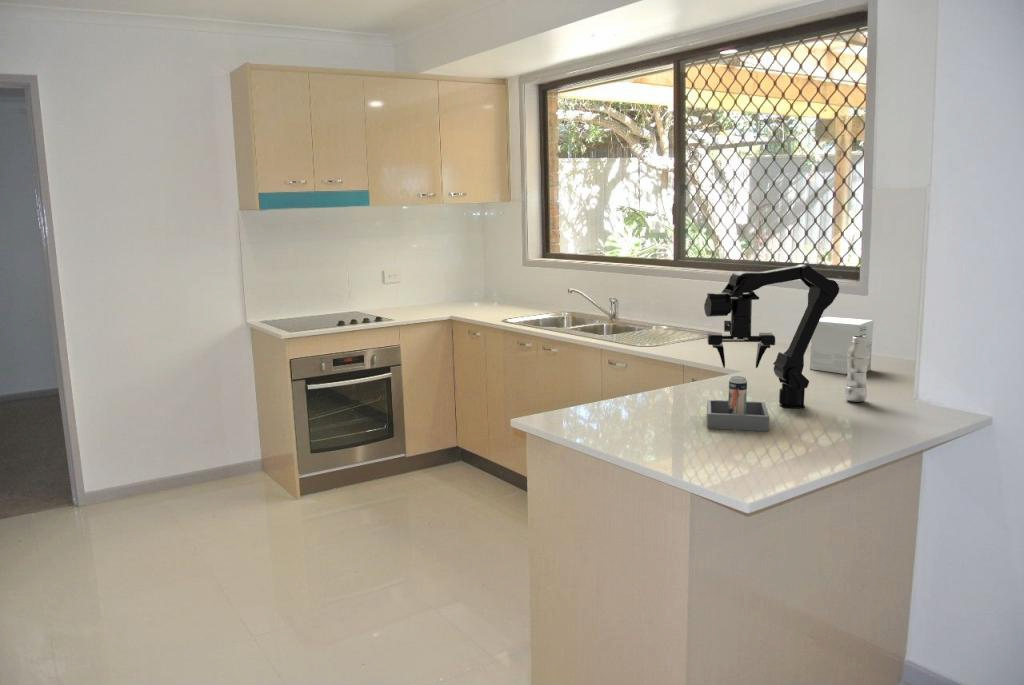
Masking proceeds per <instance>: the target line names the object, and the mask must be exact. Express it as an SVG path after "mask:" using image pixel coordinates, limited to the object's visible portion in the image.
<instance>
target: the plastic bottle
mask: <svg viewBox="0 0 1024 685" xmlns="http://www.w3.org/2000/svg"><path fill="white" fill-rule="evenodd" d="M852 342H853V345H852V346H851V347H850V348H849V350H848V351H847V363H848V374H847V377H846V383H845V387H844V392H843V393H844V398H845V400H847V401H848V402H853V403H860V402H864V401H866V399H867V397H868V388H867V372H868V371H867V366H868V361H869V356H870V354H869V351H868V349H867V347H866V346H865V343H866V337H865V336H853V340H852Z"/></svg>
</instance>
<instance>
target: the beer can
mask: <svg viewBox="0 0 1024 685" xmlns="http://www.w3.org/2000/svg"><path fill="white" fill-rule="evenodd" d="M747 392H748V380H747V379H746V377H745V376H739V375H738V376H736V375H735V376H731V377H730V378H729V380H728V414H742V415H746V401H747Z"/></svg>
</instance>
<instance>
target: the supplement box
mask: <svg viewBox="0 0 1024 685" xmlns="http://www.w3.org/2000/svg"><path fill="white" fill-rule="evenodd" d="M873 331H874V320H873V319H859V318H858V319H857V318H848V317H847V318H846V317H833V316H825V317H821V318H820V320H819V323H818V325H817V327H816V329H815V331H814V334H813V336H812V338H811V340H810V356H809V370H814V371H821V372H827V373H836V374H843V375H848V363H847V351H848V350H849V348H850V347H851V346H852V345H853V342H852V340H853V336H865V337H866V343H865V346H866V347H867V349H868V351H869V354H870V356H869V361H868V366H867V372H869V371H871V370H872V369H871V368H872V366H871V365H872V352H873V351H872V349H873V333H874V332H873Z"/></svg>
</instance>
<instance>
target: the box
mask: <svg viewBox="0 0 1024 685" xmlns="http://www.w3.org/2000/svg"><path fill="white" fill-rule="evenodd" d="M706 428H707V429H717V430H737V431H738V430H739V431H758V432H760V431H761V432H763V431H764V432H769V431H770V415H769V411H768V408H767V405H766V402H765V401H755V400H754V401H751V400H750V401H749V400H746V415H742V414H728V400H727V399H726V400H725V399H723V400H722V399H706Z"/></svg>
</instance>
